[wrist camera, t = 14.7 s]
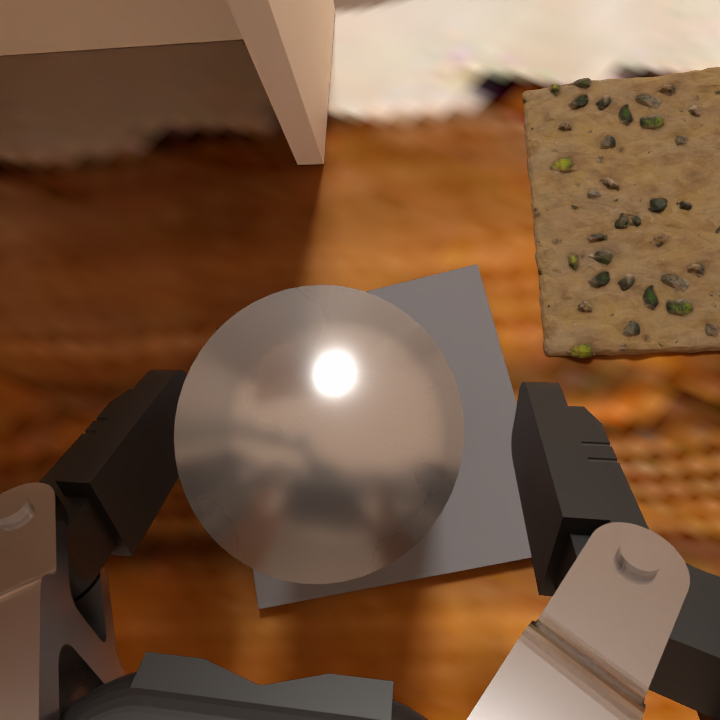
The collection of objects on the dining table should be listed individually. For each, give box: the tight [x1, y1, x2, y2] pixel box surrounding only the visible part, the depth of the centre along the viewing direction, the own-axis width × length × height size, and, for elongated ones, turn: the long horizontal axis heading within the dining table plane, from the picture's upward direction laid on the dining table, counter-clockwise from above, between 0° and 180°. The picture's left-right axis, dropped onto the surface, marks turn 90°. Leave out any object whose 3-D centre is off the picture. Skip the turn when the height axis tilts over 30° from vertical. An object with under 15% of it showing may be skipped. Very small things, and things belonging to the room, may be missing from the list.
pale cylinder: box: [174, 285, 464, 584], centre depth 13 cm, size 5×5×10 cm
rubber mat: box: [217, 265, 531, 609], centre depth 18 cm, size 11×11×1 cm
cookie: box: [522, 67, 720, 358], centre depth 18 cm, size 12×12×1 cm
